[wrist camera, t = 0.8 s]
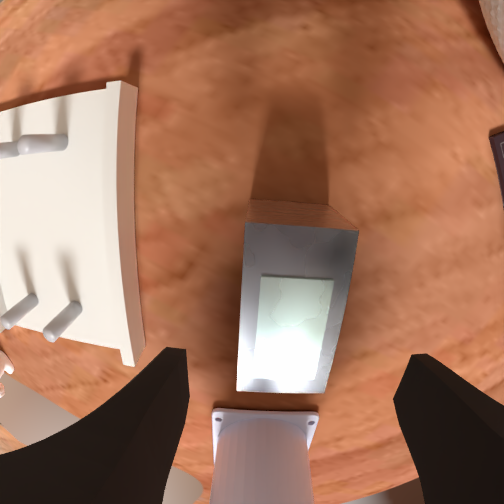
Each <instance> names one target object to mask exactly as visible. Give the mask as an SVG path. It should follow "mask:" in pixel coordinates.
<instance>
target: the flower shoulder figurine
mask: <svg viewBox="0 0 504 504" xmlns="http://www.w3.org/2000/svg"><path fill="white" fill-rule="evenodd" d="M4 370H5V371H7V372H8V373H9V374H11V373H12V372H13V371H14V366H13V364H12V363H11V361H10V360H9V358H8V357H7V356H6V354H5V353H4V352H3V351H0V377H1V376H2V374H3V373H4ZM4 393H5V391H4V385H2V383H1V382H0V398H1V397H2V396H3V395H4Z"/></svg>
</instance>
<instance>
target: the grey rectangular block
mask: <svg viewBox="0 0 504 504" xmlns="http://www.w3.org/2000/svg"><path fill="white" fill-rule="evenodd" d="M358 234H359V230H358V229H356V228H355V227H354V226H353V225H352V224H351V223H349V222H348V221H347V220H346V219H345V218H344V217H342V216H341V215H340V214H339V213H338V212H336V211H335V210H334V209H333V208H332V207H331V206H329V205H324V204H312V203H301V202H288V201H275V200H261V199H250V200H249V205H248V210H247V215H246V220H245V234H244V252H243V270H242V289H241V309H240V329H239V349H238V370H237V391H248V392H268V393H324V392H325V388H326V385H327V381H328V377H329V374H330V370H331V366H332V362H333V358H334V354H335V350H336V346H337V342H338V338H339V334H340V329H341V325H342V320H343V316H344V311H345V306H346V302H347V297H348V292H349V287H350V281H351V276H352V271H353V265H354V259H355V253H356V247H357V241H358Z"/></svg>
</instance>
